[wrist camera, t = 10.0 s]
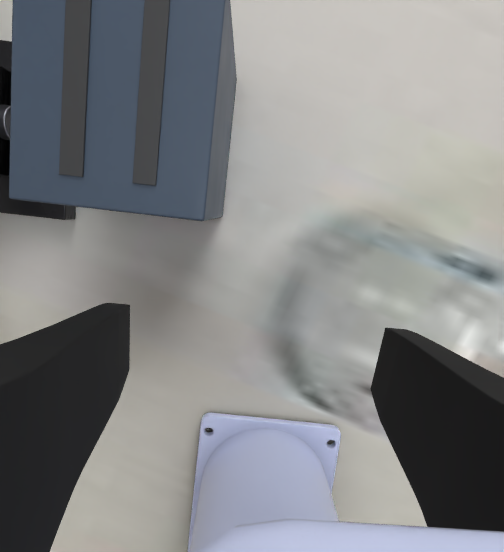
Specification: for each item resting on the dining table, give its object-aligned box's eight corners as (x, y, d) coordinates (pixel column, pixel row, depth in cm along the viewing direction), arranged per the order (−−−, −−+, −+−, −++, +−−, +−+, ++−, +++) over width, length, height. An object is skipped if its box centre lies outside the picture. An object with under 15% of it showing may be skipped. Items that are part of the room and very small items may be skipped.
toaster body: (222, 217, 21) (204, 221, 12) (109, 204, 21) (6, 198, 12) (236, 78, 20) (227, -30, 11) (117, 63, 20) (10, -60, 11)
